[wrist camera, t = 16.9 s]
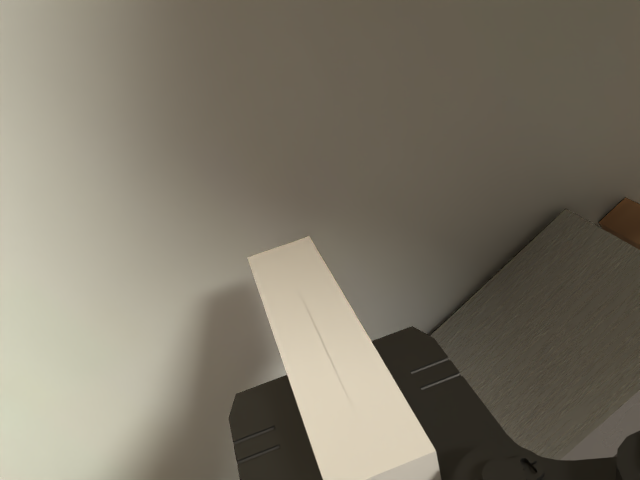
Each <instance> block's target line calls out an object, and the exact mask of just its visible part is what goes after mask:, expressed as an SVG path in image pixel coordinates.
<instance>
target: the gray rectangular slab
mask: <svg viewBox="0 0 640 480" xmlns="http://www.w3.org/2000/svg"><path fill="white" fill-rule="evenodd" d="M430 336H431V337H433V338H434V339H435V340H436V341H437V343H438V344H439V345H440V347H441V348H442V349H443V351H444V352H445V353H446V355H447V356H448V358H449V360H451V361H452V362H453V364H454V365H455V366H456V368H457V369H458V370H459V372H460V374H461V376H463V377H464V378H465V380H466V381H467V382H468V384H469V385H470V386H471V387H472V389H473V390H474V391H475V393H476V394H477V395H478V397H479V398H480V399H481V401H482V402H483V403H484V405H485V406H486V407H487V409H488V410H489V411H490V413H491V414H492V415H493V416H494V418H495V419H496V420H497V422H498V423H499V424H500V426H501V427H502V428H503V430H504V431H505V432H506V434H507V435H508V436H509V437H510V438H511V439H512V440H513V441H514V442H515V443H516V444H518V445H519V446H521V447H523V448H525V449H528V450H530V451H532V452H534V453H535V454H536V455H539V456H541V457H545V458H550V459H555V460H584V459H596V458H608V457H614V456H615V455H616V454H617V450H618V448H619V446H620V445H621V444H622V442H623V441H624V440H625V438H626V437H627V436H629V435H631V434H633V433H635V432H637V431H640V250H639V249H637V248H635V247H634V246H632V245H630V244H628V243H627V242H625V241H623V240H621V239H619V238H618V237H616V236H614V235H612V234H610V233H609V232H607V231H605V230H603V229H602V228H600V227H598V226H596V225H594V224H593V223H591V222H589V221H587V220H586V219H584V218H582V217H580V216H578V215H577V214H575V213H573V212H571V211H569V210H568V209H565V210H564V211H563V212H562V213H561V214H560V215H559V216H558V217H556V218H555V219H554V220H553V221H552V222H551V223H550V224H549V225H548V226H547V227H546V228H545V229H544V230H543V231H541V232H540V233H539V234H538V235H537V236H536V237H535V238H534V239H533V240H532V241H531V242H530V243H529V244H528V245H527V246H525V247H524V248H523V249H522V250H521V251H520V252H519V253H518V254H517V255H516V256H515V257H514V258H513V259H512V260H510V261H509V262H508V263H507V264H506V265H505V266H504V267H503V268H502V269H501V270H500V271H499V272H498V273H497V274H496V275H494V276H493V277H492V278H491V279H490V280H489V281H488V282H487V283H486V284H485V285H484V286H483V287H482V288H481V289H480V290H478V291H477V292H476V293H475V294H474V295H473V296H472V297H471V298H470V299H469V300H468V301H467V302H466V303H465V304H463V305H462V306H461V307H460V308H459V309H458V310H457V311H456V312H455V313H454V314H453V315H452V316H451V317H450V318H449V319H447V320H446V321H445V322H444V323H443V324H442V325H441V326H440V327H439V328H438V329H437V330H436V331H435V332H434V333H432V334H431V335H430Z"/></svg>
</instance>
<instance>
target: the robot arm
mask: <svg viewBox="0 0 640 480" xmlns="http://www.w3.org/2000/svg"><path fill="white" fill-rule="evenodd" d="M247 259H248V261H249V264H250V267H251V270H252V273H253V276H254V279H255V282H256V285H257V288H258V291H259V294H260V297H261V300H262V302H263V305H264V308H265V311H266V314H267V317H268V320H269V323H270V326H271V329H272V332H273V335H274V338H275V341H276V343H277V346H278V349H279V352H280V355H281V358H282V361H283V364H284V367H285V370H286V373H287V375H286V376H283V377H280V378H278V379H275V380H272V381H270V382H267V383H264V384H261V385H259V386H256V387H253V388H251V389H248V390H245V391H243V392H240V393H237V394H236V396H235V399H234V402H233V406H232V409H231V412H230V416H229V422H230V427H231V433H232V438H233V442H234V449H235V455H236V460H237V463H238V471H239V477H240V480H640V431H637V432H635V433H633V434H631V435H629V436H627V437H626V438H625V440H624V441H623V442H622V444H621V445H620V446H619V448H618V450H617V457H608V458H596V459H584V460H555V459H550V458H545V457H541V456H539V455H536V454H535V453H534V452H532V451H530V450H528V449H525V448H523V447H521V446H519V445H518V444H516V443H515V442H514V441H513V440H512V439H511V438H510V437H509V436H508V435H507V434H506V432H505V431H504V430H503V428H502V427H501V426H500V424H499V423H498V422H497V420H496V419H495V418H494V416H493V415H492V414H491V413H490V411H489V410H488V409H487V407H486V406H485V405H484V403H483V402H482V401H481V399H480V398H479V397H478V395H477V394H476V393H475V391H474V390H473V389H472V387H471V386H470V385H469V384H468V382H467V381H466V380H465V378H464V377H463V376H461V374H460V372H459V370H458V369H457V368H456V366H455V365H454V364H453V362H452V361H451V360H449V358H448V356H447V355H446V353H445V352H444V351H443V349H442V348H441V347H440V345H439V344H438V343H437V341H436V340H435V339H434V338H433V337H431V336H429V335H427V334H425V333H424V332H422V331H420V330H418V329H416V328H414V327H413V326H412V327H409V328H406V329H404V330H401V331H398V332H396V333H393V334H390V335H388V336H385V337H382V338H380V339H377V340H374V341H371V340H370V338H369V336H368V335H367V333H366V331H365V330H364V328H363V326H362V324H361V323H360V321H359V319H358V318H357V316H356V314H355V313H354V311H353V309H352V308H351V306H350V304H349V302H348V301H347V299H346V297H345V296H344V294H343V292H342V291H341V289H340V287H339V285H338V284H337V282H336V280H335V279H334V277H333V275H332V274H331V272H330V270H329V269H328V267H327V265H326V263H325V262H324V260H323V258H322V257H321V255H320V253H319V252H318V250H317V248H316V247H315V245H314V243H313V241H312V240H311V238H310V236H308V237H305V238H302V239H299V240H296V241H293V242H291V243H288V244H285V245H282V246H279V247H276V248H273V249H270V250H267V251H264V252H261V253H258V254H255V255H253V256H250V257H247Z"/></svg>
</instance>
